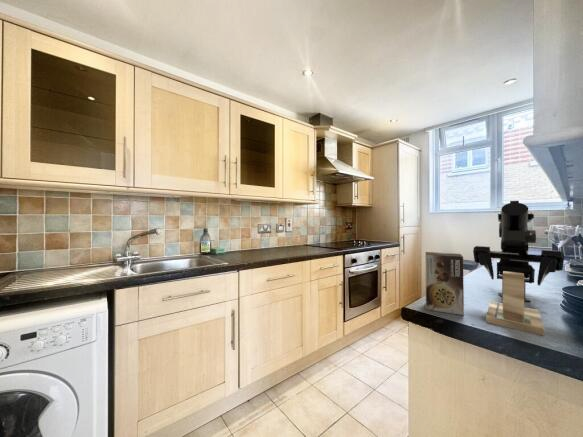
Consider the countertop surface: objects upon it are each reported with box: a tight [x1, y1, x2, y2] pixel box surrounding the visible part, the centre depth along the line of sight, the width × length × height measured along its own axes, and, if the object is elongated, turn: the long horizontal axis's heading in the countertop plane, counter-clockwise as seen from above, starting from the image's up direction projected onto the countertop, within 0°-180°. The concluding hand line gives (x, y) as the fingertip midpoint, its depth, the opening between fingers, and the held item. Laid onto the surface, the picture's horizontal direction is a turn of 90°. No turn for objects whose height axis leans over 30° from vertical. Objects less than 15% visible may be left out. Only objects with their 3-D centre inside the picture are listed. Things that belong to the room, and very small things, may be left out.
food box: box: [425, 251, 465, 316], centre depth 68 cm, size 9×6×16 cm
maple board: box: [485, 300, 545, 337], centre depth 61 cm, size 16×10×2 cm, turn 136°
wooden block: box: [502, 271, 525, 323], centre depth 58 cm, size 6×4×11 cm, turn 137°
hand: (514, 281), depth 64 cm, fingers open, 9 cm apart
